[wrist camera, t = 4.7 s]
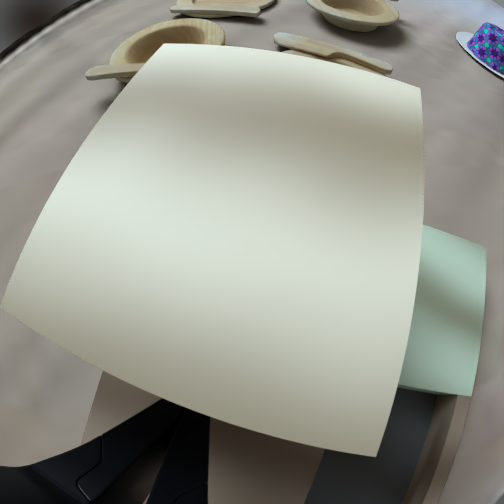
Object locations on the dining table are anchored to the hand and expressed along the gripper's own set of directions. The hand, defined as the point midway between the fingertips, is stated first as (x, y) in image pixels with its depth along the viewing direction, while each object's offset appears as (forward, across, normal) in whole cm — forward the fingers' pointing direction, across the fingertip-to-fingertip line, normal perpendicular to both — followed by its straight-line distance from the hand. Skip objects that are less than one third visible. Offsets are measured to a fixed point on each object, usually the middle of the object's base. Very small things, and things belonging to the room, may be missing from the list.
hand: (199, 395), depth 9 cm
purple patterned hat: (+38, -22, -26) cm, 52 cm away
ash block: (+7, 0, 0) cm, 7 cm away
